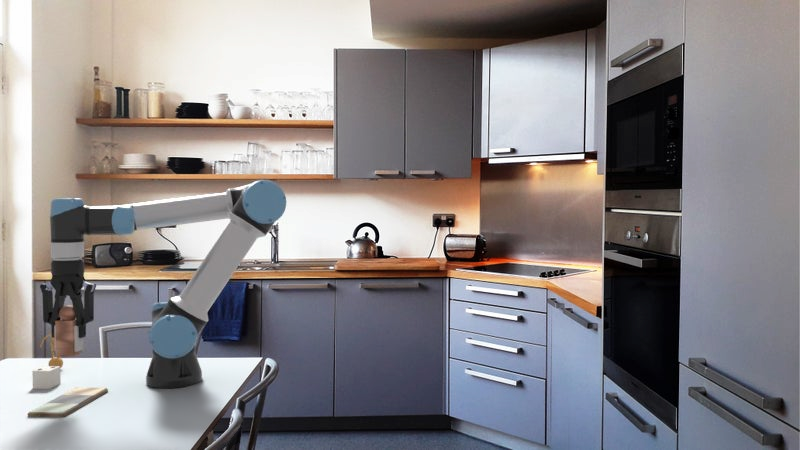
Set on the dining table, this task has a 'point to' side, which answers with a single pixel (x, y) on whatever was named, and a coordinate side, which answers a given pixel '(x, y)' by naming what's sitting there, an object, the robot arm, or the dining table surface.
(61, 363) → the figurine
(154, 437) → the dining table surface
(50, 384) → the die
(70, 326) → the pawn
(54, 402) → the board
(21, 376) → the dining table surface
